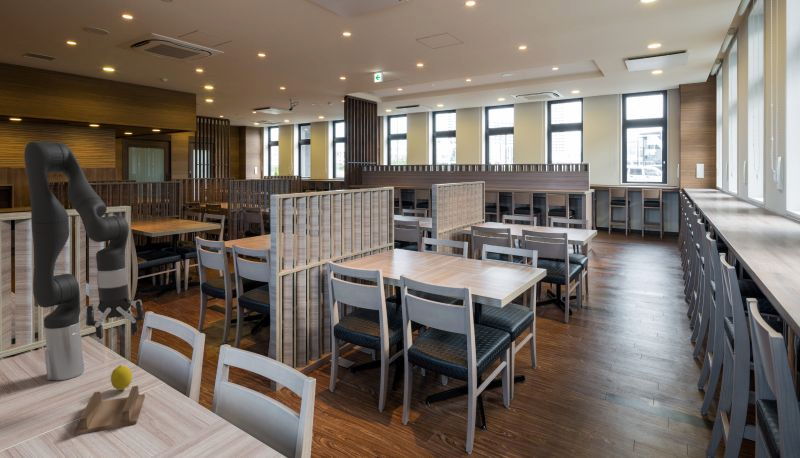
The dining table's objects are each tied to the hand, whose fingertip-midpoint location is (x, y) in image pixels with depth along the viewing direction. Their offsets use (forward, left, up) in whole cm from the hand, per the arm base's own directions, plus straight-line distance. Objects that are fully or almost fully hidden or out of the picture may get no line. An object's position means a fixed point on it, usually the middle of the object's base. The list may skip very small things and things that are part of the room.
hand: (117, 336), depth 138 cm
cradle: (0, -15, -17) cm, 23 cm away
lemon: (0, 0, -18) cm, 18 cm away
